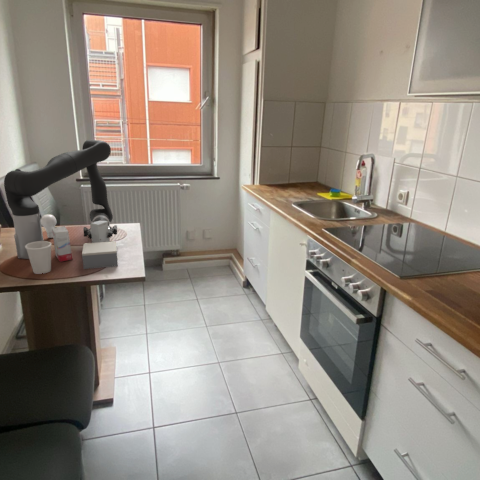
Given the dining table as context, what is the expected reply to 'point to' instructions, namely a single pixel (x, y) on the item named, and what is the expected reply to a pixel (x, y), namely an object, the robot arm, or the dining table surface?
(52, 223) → the lightbulb
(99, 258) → the plinth
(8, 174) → the robot arm
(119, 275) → the dining table surface
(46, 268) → the dixie cup
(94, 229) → the skincare box
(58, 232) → the ink box
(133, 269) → the dining table surface
